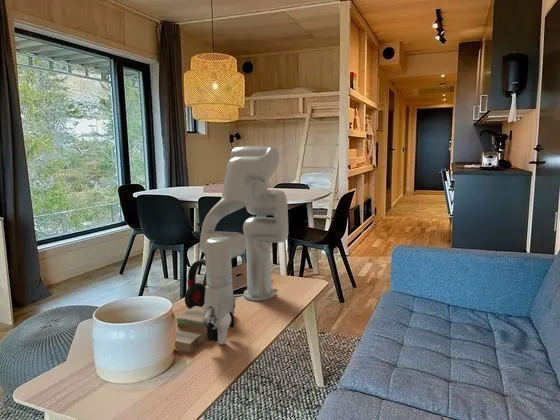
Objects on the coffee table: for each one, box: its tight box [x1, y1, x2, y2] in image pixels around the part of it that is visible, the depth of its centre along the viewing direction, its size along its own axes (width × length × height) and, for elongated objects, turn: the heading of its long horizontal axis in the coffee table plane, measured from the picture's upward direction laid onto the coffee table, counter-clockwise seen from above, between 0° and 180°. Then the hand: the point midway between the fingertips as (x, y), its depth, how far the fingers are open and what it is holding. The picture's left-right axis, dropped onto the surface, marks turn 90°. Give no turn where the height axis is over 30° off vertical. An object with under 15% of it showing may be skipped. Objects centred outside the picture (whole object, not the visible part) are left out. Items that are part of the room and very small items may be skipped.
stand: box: [175, 306, 208, 354], centre depth 128 cm, size 18×10×6 cm, turn 158°
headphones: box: [184, 258, 207, 310], centre depth 144 cm, size 18×10×20 cm, turn 53°
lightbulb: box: [211, 313, 231, 346], centre depth 123 cm, size 6×6×11 cm
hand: (221, 333), depth 123 cm, fingers open, 9 cm apart
